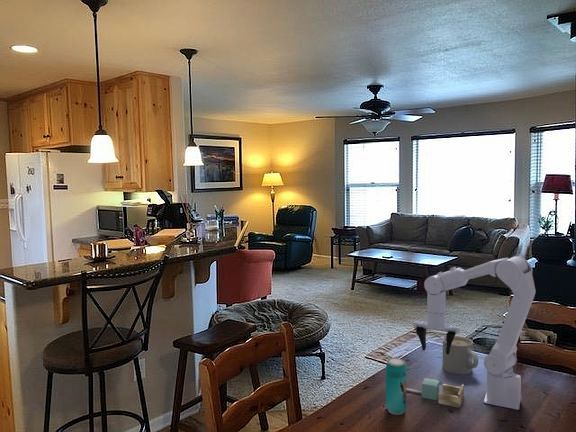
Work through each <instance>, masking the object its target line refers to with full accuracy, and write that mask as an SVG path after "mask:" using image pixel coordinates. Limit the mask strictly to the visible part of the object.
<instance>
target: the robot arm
mask: <svg viewBox="0 0 576 432" xmlns="http://www.w3.org/2000/svg"><path fill="white" fill-rule="evenodd" d="M486 275H490V276H491V277H494V278H496V277H497V278H498V279H499V280H500V281H501V282H503V283H504V284H505V285H506V286H507V287H508V288H509V289H510V290H511V292H512V294H513V296H512V298H511V302H510V305H509V307H508V310H507V314H506V316H505V318H504V321H503V324H502V327H501V330H500V332H499V335H498V338H497V341H496V342H495V344H494V345H493V346H492V348H491V349H490V353H489V354H487V355H486V356H485V357H484V360H483V366H484V368H485V370H486V393H485V395H484V396H485V397H484V400H483V403H484V404H487V405H493V406H497V407H502V408H507V409H512V410H516V411H517V410H520V405H521V401H522V394H521V392H522V391H521V387H522V384H521V383H522V381H521V380H522V375H519V374H517V373H514V368H513V367H514V366H515V365H516V363H517V362H518V361H517V360H518V359H517V351H518V347H517V345H518V341H519V338H520V336H521V333H522V331H523V327H524V326H525V323H526V320H527V318H528V314H529V311H530V309H531V306H532V303H533V301H534V299H535V295H536V292H537V290H536V287H535V281H534V277H533V267H532V266H531V264H530V262H529V261H528V260H527V259H526V258H525V257H523V256H520V255H515V256H511V257H510V258H509V257H504V258H499V259H498V258H497V259H495V260H494V259H493V260H491V261H487V262H485V263H482V264H480V265H479V264H478V265H476V266H473V267H470V268H467V269H464V268H462V267H456V266H454V267H451V268H449V270H447V271H444V272H442V271H440V272H438V273H437V274H435V275H430V276H429V277H427V278H426V279H425V280H424V285H423V286H424V289H425V291H426V294H427V296H426V298H427V300H426V309H427V311H426V312H427V314H426V316H427V317H426V320H425V321H424V320H414V321H413V325H412V326H413V329H415V334H416V335H417V337H418V339H419V342H420V345H421V350H422V351H424V352H425V351H426V349H427V340H426V339H427V338H426V337H427V330H431V331H439V332H447V333H446V335H445V337H446V340H447V348H446V354H449V353H450V347H451V344H452V341H453V339H454V337H455V336H457V335H459V334H460V332H461V330H460V329H461V327H460V326H458V325H454V324H449V323H446V304H447V303H446V301H447V300H446V299H447V297H446V296H447V295H446V294H447V293H446V292H447V291H450V290H452V289H453V290H454V289H457V288H460V287H463V286H466V285H467V283H468V281H469V280H471V279H472V280H473V279H475V278H479V277H483V276H486Z"/></svg>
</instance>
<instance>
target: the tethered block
mask: <svg viewBox="0 0 576 432" xmlns="http://www.w3.org/2000/svg"><path fill="white" fill-rule="evenodd" d="M406 392H410V393H415V394H416V393H417V394H421V398H423V399H428V400H433V401H437V400H438V397H439V393H440V380H438V379H432V378H428V377H425V378H423V381H422V382H421V390H417V389H412V388H407V387H406Z"/></svg>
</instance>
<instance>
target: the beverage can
mask: <svg viewBox="0 0 576 432" xmlns="http://www.w3.org/2000/svg"><path fill="white" fill-rule="evenodd" d="M406 388H407V365H406V360H404V359H402V358H399V357H398V358H397V357H391V358H388V359H387V360H386V365H385V405H386V406H385V407H386V409H387V411H388V413H390V414H392V415H393V416H394V415H395V416H401V415H403V414H404V412H405V411H406V408H407V391H406Z"/></svg>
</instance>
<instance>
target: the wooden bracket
mask: <svg viewBox="0 0 576 432" xmlns="http://www.w3.org/2000/svg"><path fill="white" fill-rule="evenodd" d="M464 396H465V385H464V383H462V384H461V386H457V385H453V384H452V385H451V384H447V383H443V384H442V392H439V396H438V398H437V400H438V401H437V402H438V404H441V405H444V406H449V407H455V408H461V405H462V403H463V401H464V398H465V397H464Z"/></svg>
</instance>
